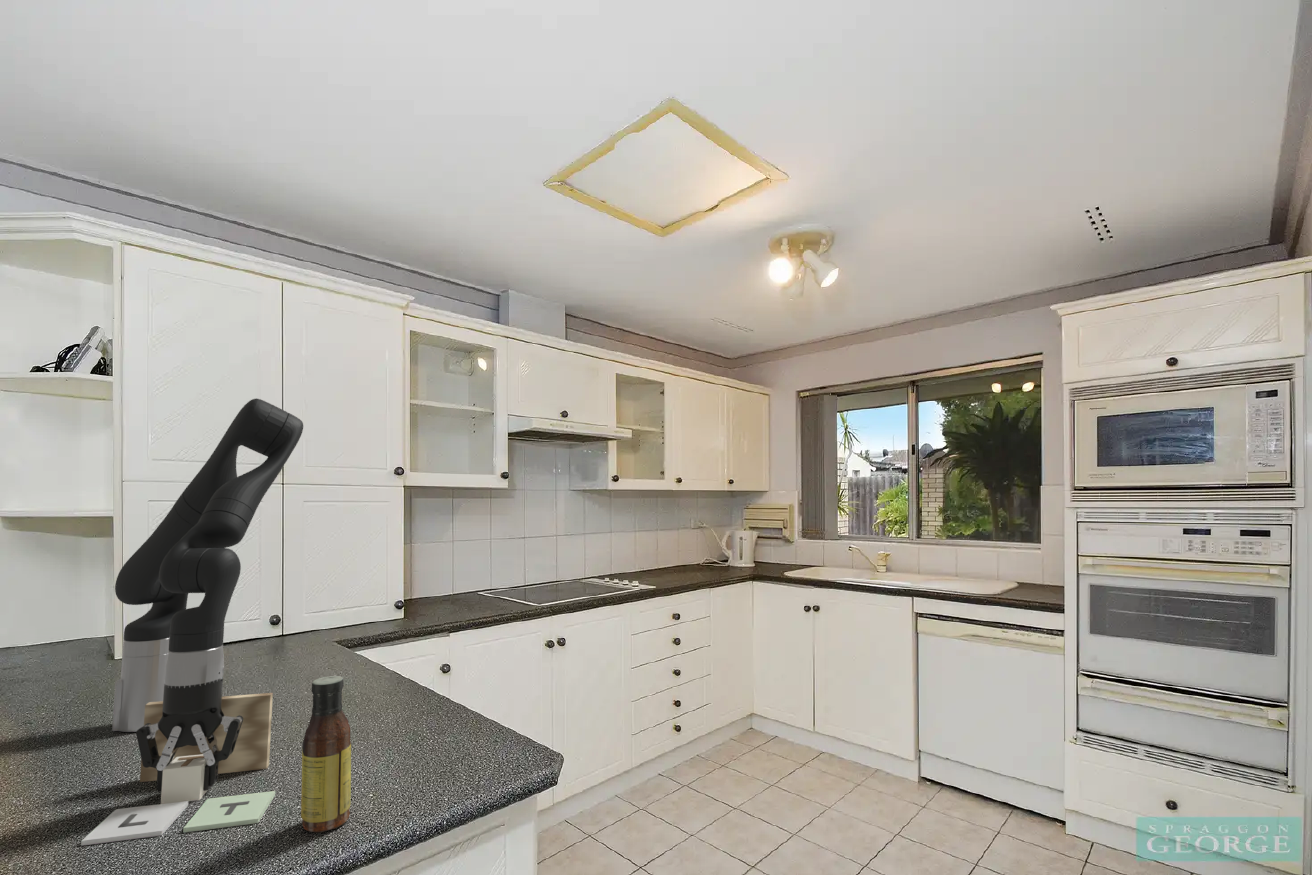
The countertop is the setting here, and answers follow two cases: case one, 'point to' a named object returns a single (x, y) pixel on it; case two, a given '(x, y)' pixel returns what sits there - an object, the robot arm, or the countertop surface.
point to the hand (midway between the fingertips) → (187, 790)
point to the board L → (135, 823)
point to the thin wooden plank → (250, 741)
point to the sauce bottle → (326, 760)
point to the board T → (230, 811)
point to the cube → (183, 779)
